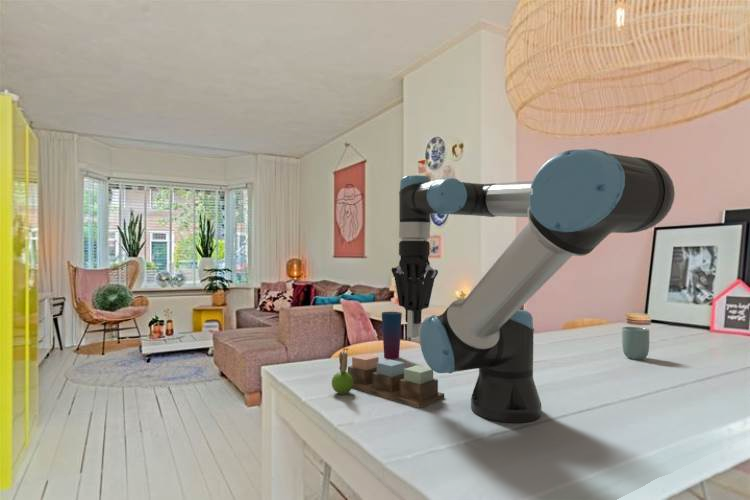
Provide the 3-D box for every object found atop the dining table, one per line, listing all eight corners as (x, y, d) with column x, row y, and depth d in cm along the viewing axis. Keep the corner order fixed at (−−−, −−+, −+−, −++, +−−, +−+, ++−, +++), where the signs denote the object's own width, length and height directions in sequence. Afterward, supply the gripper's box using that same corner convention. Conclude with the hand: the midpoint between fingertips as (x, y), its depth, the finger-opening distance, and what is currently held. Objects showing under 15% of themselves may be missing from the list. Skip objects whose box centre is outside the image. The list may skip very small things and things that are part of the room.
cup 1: (379, 358, 149) (379, 313, 149) (384, 354, 156) (384, 311, 156) (398, 360, 147) (399, 314, 147) (403, 355, 154) (403, 311, 154)
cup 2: (617, 357, 153) (617, 327, 153) (632, 354, 156) (632, 326, 157) (639, 362, 146) (638, 331, 146) (654, 359, 149) (654, 329, 149)
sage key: (433, 381, 109) (433, 368, 109) (420, 385, 105) (420, 372, 105) (416, 377, 112) (416, 365, 112) (404, 381, 108) (404, 369, 108)
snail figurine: (334, 398, 108) (334, 349, 108) (329, 391, 114) (330, 343, 115) (356, 397, 110) (356, 347, 110) (350, 389, 116) (350, 342, 116)
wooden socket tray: (444, 397, 109) (444, 378, 109) (419, 408, 102) (419, 387, 102) (367, 377, 127) (367, 360, 127) (341, 384, 120) (341, 367, 120)
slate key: (404, 374, 115) (404, 362, 115) (391, 378, 111) (391, 366, 111) (389, 370, 118) (389, 359, 118) (376, 374, 115) (376, 362, 115)
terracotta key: (378, 368, 121) (378, 356, 121) (365, 371, 117) (365, 360, 117) (365, 364, 124) (365, 354, 124) (352, 368, 121) (352, 357, 121)
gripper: (445, 240, 108) (444, 338, 108) (403, 240, 117) (402, 330, 117) (426, 240, 103) (424, 343, 103) (384, 239, 112) (383, 334, 112)
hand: (413, 336), depth 110 cm, fingers closed
